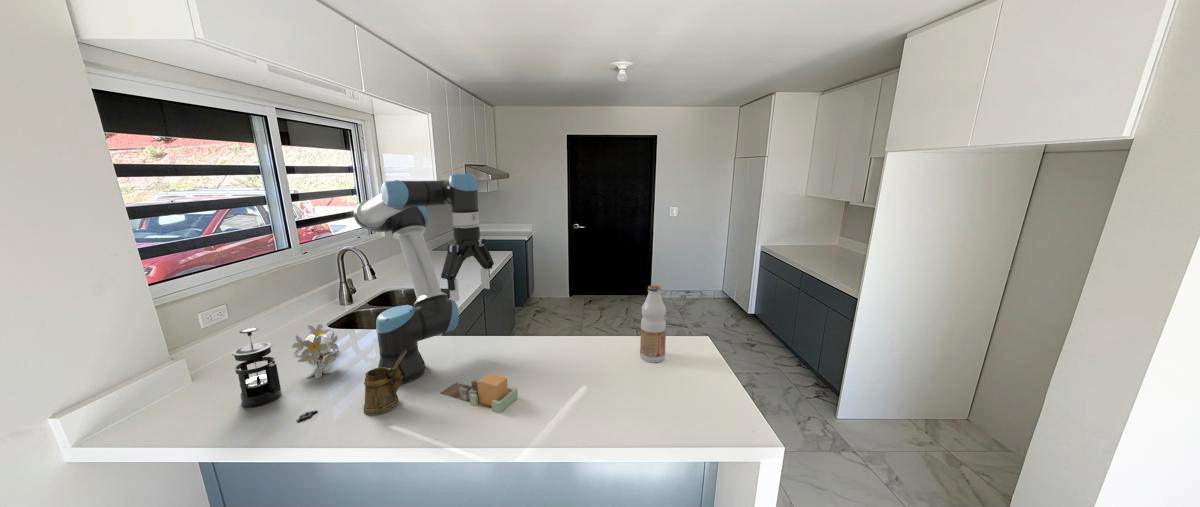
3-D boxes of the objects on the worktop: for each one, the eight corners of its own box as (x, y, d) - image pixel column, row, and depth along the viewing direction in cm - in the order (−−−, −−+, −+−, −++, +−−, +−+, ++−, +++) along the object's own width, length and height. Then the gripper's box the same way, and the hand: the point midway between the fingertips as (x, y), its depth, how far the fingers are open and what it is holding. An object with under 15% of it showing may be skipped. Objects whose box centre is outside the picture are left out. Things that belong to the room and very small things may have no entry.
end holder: (470, 404, 112) (469, 395, 112) (489, 389, 120) (489, 381, 119) (499, 413, 108) (499, 403, 107) (517, 397, 116) (517, 388, 115)
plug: (460, 397, 116) (459, 376, 115) (472, 388, 120) (470, 368, 119) (497, 407, 110) (496, 386, 109) (508, 398, 115) (507, 377, 114)
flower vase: (309, 373, 146) (302, 385, 125) (292, 328, 144) (282, 334, 123) (348, 358, 153) (347, 367, 132) (332, 315, 151) (329, 318, 130)
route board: (440, 396, 118) (438, 383, 117) (456, 385, 124) (455, 373, 124) (502, 414, 109) (501, 401, 108) (516, 402, 115) (516, 389, 114)
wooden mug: (405, 414, 109) (399, 356, 106) (357, 416, 108) (349, 358, 105) (418, 396, 118) (412, 343, 114) (373, 398, 117) (366, 344, 114)
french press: (230, 406, 113) (215, 334, 108) (262, 389, 122) (249, 322, 118) (264, 409, 111) (250, 336, 107) (294, 392, 120) (282, 324, 116)
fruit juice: (644, 364, 138) (646, 291, 133) (636, 353, 147) (638, 284, 142) (668, 361, 140) (671, 289, 135) (659, 350, 149) (661, 282, 144)
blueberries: (329, 413, 111) (329, 407, 111) (303, 428, 103) (302, 422, 103) (311, 410, 112) (310, 404, 112) (283, 425, 105) (283, 418, 104)
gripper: (443, 232, 101) (449, 307, 105) (502, 222, 123) (505, 285, 127) (423, 230, 104) (430, 304, 108) (484, 221, 126) (488, 282, 130)
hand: (471, 294), depth 117 cm, fingers open, 13 cm apart
